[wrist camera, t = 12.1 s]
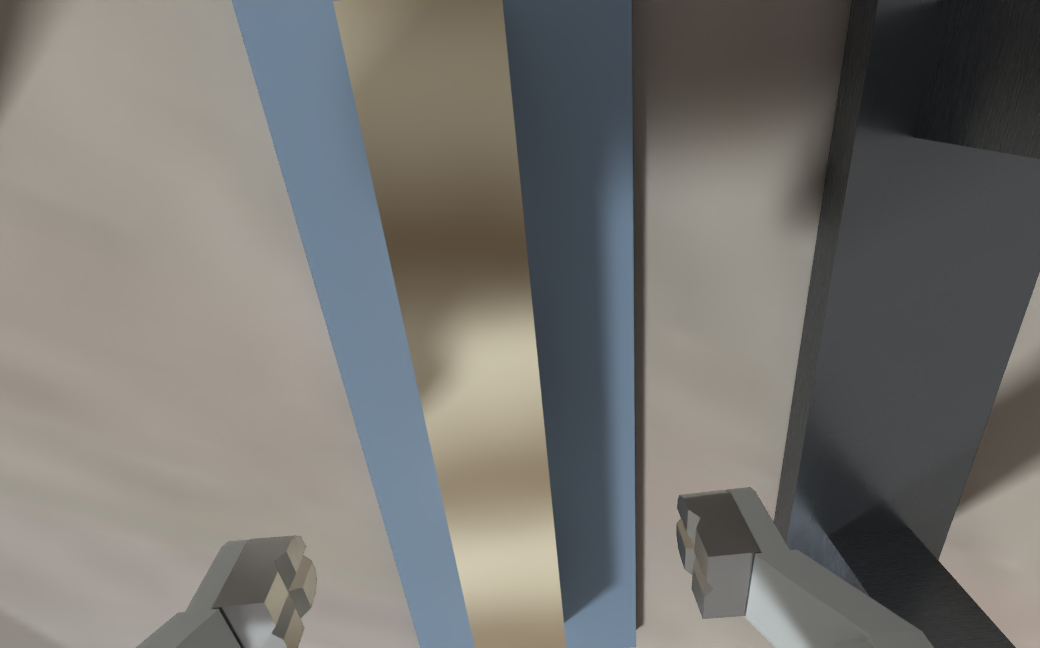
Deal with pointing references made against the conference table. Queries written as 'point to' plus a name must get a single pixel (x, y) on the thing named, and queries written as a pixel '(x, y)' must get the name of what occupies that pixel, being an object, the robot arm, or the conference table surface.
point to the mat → (553, 279)
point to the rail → (463, 291)
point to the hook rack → (914, 297)
